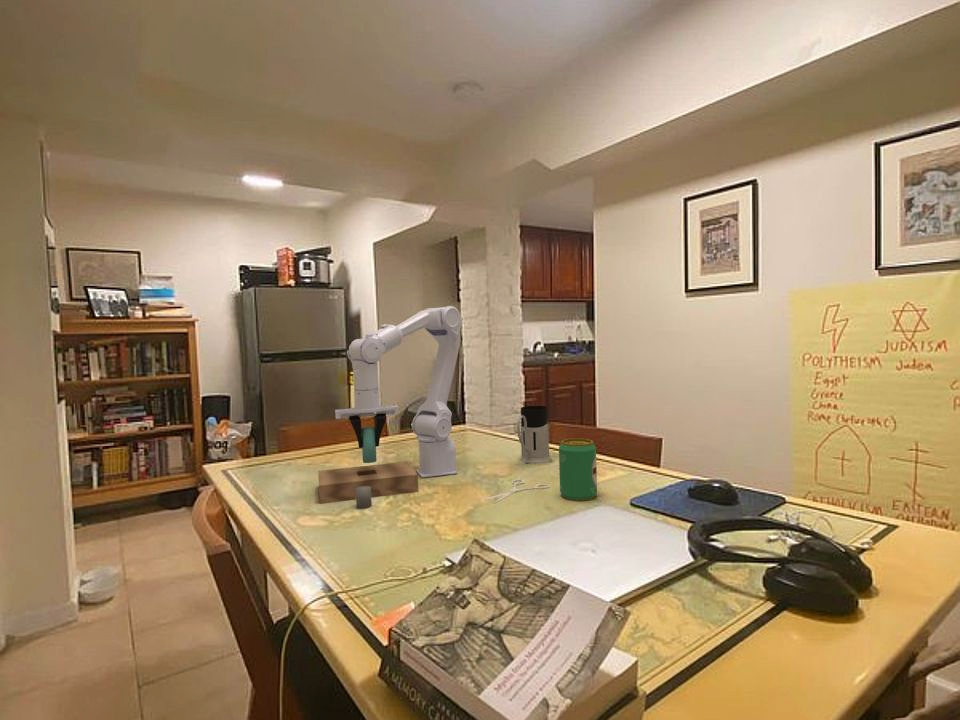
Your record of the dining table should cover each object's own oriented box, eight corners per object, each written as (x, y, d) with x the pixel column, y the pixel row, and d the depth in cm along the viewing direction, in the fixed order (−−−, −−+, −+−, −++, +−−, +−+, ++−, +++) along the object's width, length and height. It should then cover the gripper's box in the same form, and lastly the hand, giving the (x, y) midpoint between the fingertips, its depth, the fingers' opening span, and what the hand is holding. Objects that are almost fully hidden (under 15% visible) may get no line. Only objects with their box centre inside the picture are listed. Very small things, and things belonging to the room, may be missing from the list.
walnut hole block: (407, 476, 136) (407, 461, 136) (418, 491, 123) (417, 474, 123) (318, 487, 130) (318, 470, 129) (319, 503, 116) (319, 485, 116)
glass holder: (556, 458, 152) (554, 406, 151) (534, 469, 140) (532, 413, 139) (528, 455, 156) (527, 404, 156) (505, 466, 144) (503, 411, 144)
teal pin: (378, 459, 126) (377, 426, 126) (373, 463, 123) (371, 429, 123) (366, 459, 127) (364, 426, 126) (360, 463, 124) (358, 429, 123)
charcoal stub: (370, 503, 115) (370, 485, 115) (372, 507, 112) (371, 489, 112) (355, 505, 114) (355, 487, 114) (357, 509, 111) (356, 491, 111)
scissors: (555, 483, 125) (504, 505, 109) (555, 486, 125) (504, 509, 109) (518, 477, 132) (466, 497, 116) (519, 480, 132) (466, 500, 116)
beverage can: (597, 502, 111) (596, 445, 110) (559, 500, 112) (557, 445, 112) (596, 490, 119) (595, 438, 118) (561, 490, 120) (559, 437, 120)
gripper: (394, 386, 131) (396, 440, 131) (333, 389, 126) (336, 446, 127) (399, 388, 124) (401, 445, 124) (335, 392, 119) (338, 452, 120)
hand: (368, 446), depth 125 cm, fingers closed on teal pin, 3 cm apart
